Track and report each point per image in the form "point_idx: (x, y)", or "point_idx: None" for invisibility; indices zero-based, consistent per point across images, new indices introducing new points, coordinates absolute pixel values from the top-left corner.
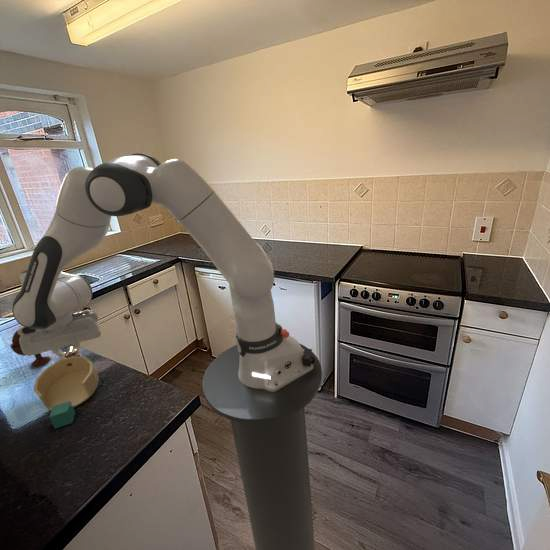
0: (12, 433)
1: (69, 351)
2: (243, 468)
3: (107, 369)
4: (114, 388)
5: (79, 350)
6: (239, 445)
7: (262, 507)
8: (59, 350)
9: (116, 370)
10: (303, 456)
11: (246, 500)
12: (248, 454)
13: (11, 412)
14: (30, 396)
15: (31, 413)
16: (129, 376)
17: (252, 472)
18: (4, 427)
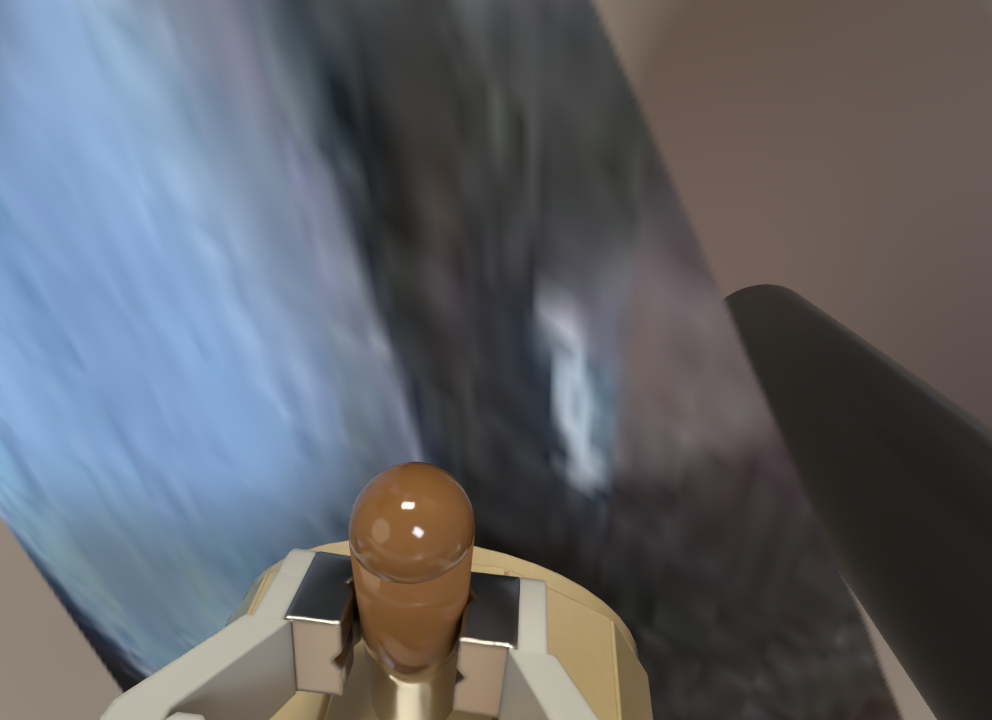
0: None
1: (394, 645)
2: (862, 585)
3: (711, 476)
4: (703, 710)
5: (545, 628)
6: (925, 678)
7: None
8: (220, 702)
9: (775, 539)
10: None
11: (788, 448)
12: (920, 692)
13: (56, 545)
14: (110, 446)
15: (206, 626)
16: (833, 664)
17: (875, 625)
18: (91, 646)
